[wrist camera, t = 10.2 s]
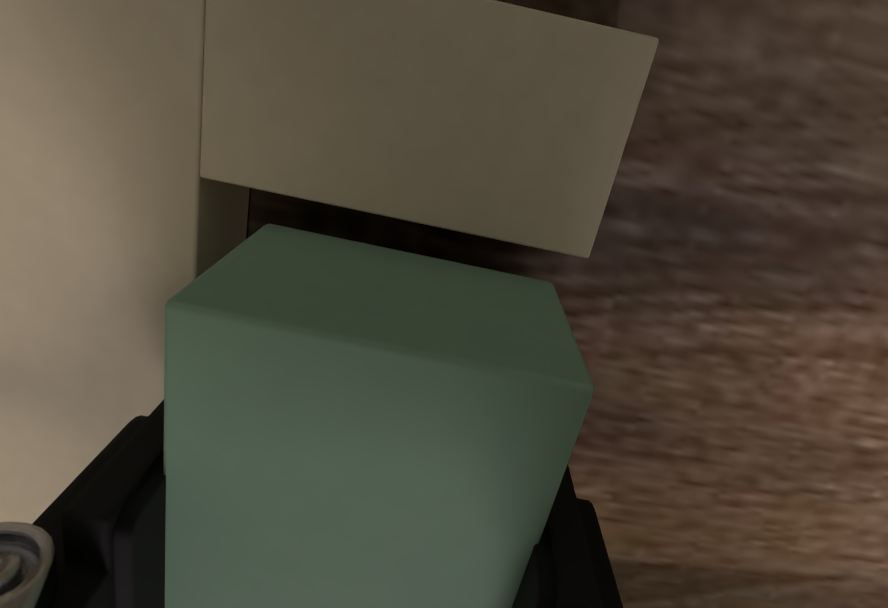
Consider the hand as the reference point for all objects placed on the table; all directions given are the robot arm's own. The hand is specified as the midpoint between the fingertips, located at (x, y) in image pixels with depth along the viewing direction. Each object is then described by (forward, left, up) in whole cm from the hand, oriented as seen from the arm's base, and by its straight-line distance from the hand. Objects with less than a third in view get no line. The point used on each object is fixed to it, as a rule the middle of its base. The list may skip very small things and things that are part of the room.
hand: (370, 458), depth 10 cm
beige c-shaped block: (0, -3, -3) cm, 4 cm away
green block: (0, 0, -1) cm, 1 cm away
